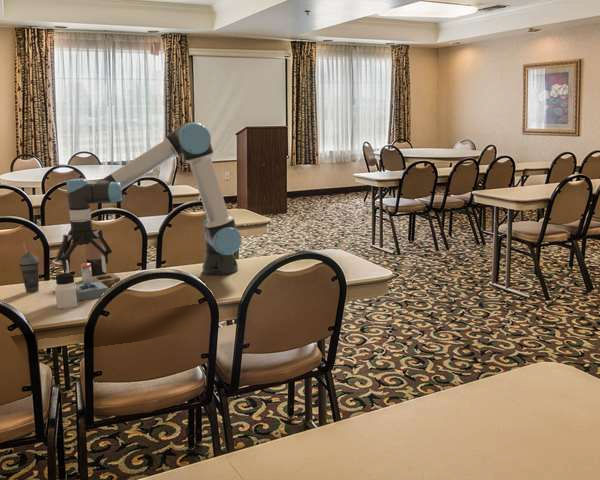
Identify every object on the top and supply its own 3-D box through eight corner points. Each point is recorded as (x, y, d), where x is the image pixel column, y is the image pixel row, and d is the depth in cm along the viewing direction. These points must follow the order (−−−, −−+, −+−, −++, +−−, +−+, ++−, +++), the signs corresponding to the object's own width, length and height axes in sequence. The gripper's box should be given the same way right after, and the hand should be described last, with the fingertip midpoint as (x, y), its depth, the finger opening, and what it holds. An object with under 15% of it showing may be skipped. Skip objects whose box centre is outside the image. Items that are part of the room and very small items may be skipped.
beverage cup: (35, 294, 244) (29, 244, 240) (18, 294, 245) (12, 244, 241) (46, 289, 251) (40, 240, 247) (29, 288, 252) (23, 240, 248)
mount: (113, 280, 261) (112, 273, 261) (120, 285, 253) (120, 278, 252) (89, 284, 256) (88, 277, 255) (95, 289, 248) (94, 282, 247)
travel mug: (110, 275, 270) (105, 229, 266) (102, 279, 262) (98, 233, 258) (93, 275, 271) (88, 230, 267) (85, 280, 263) (80, 233, 259)
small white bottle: (92, 292, 244) (89, 262, 242) (94, 294, 241) (91, 264, 239) (82, 294, 242) (79, 264, 240) (85, 296, 239) (82, 265, 237)
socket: (100, 288, 250) (99, 281, 249) (108, 294, 240) (108, 287, 239) (68, 293, 243) (68, 286, 243) (76, 300, 233) (75, 293, 233)
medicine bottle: (78, 306, 226) (74, 274, 223) (57, 309, 223) (53, 277, 221) (78, 301, 232) (74, 270, 230) (57, 304, 230) (54, 272, 228)
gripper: (111, 215, 245) (116, 267, 250) (43, 223, 232) (50, 278, 236) (116, 217, 239) (121, 271, 243) (48, 225, 226) (54, 282, 230)
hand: (86, 274), depth 240 cm, fingers open, 13 cm apart
